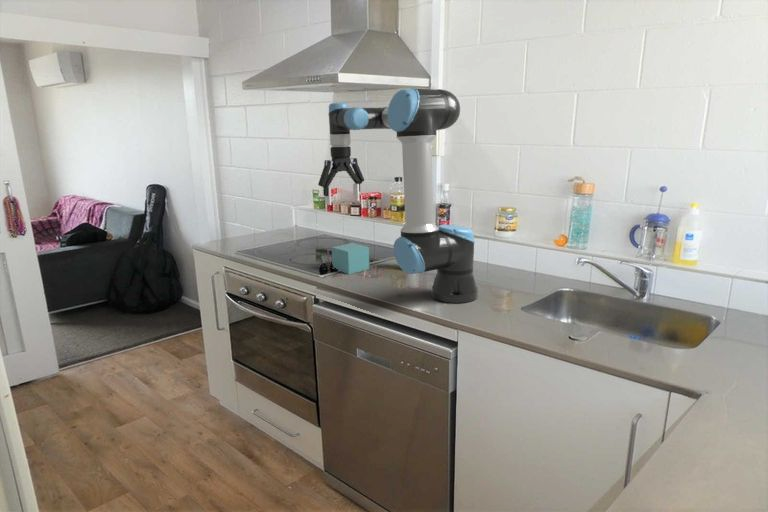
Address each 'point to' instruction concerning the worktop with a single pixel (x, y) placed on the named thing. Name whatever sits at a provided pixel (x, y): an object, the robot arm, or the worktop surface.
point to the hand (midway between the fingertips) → (342, 202)
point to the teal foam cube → (350, 258)
